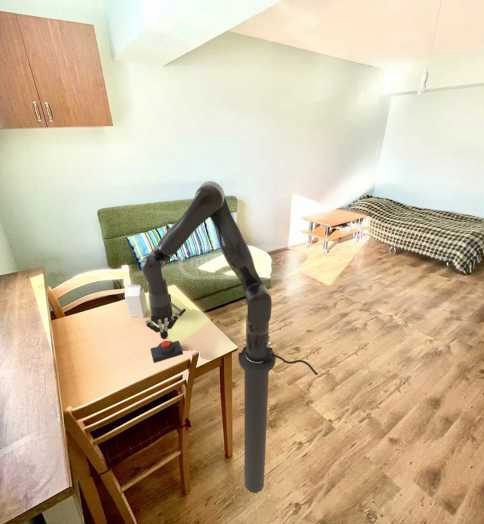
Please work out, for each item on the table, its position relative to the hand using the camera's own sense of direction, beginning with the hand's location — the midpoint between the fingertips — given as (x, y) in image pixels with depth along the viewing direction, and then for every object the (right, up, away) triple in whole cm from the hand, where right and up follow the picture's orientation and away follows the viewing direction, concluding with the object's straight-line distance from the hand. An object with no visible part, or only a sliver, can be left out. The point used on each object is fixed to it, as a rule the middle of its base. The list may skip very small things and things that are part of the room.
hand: (164, 338), depth 113 cm
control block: (0, -7, +3) cm, 8 cm away
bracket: (-6, +3, +27) cm, 28 cm away
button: (0, -4, +2) cm, 4 cm away
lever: (-3, +9, +23) cm, 25 cm away
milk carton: (-20, +3, +29) cm, 35 cm away
